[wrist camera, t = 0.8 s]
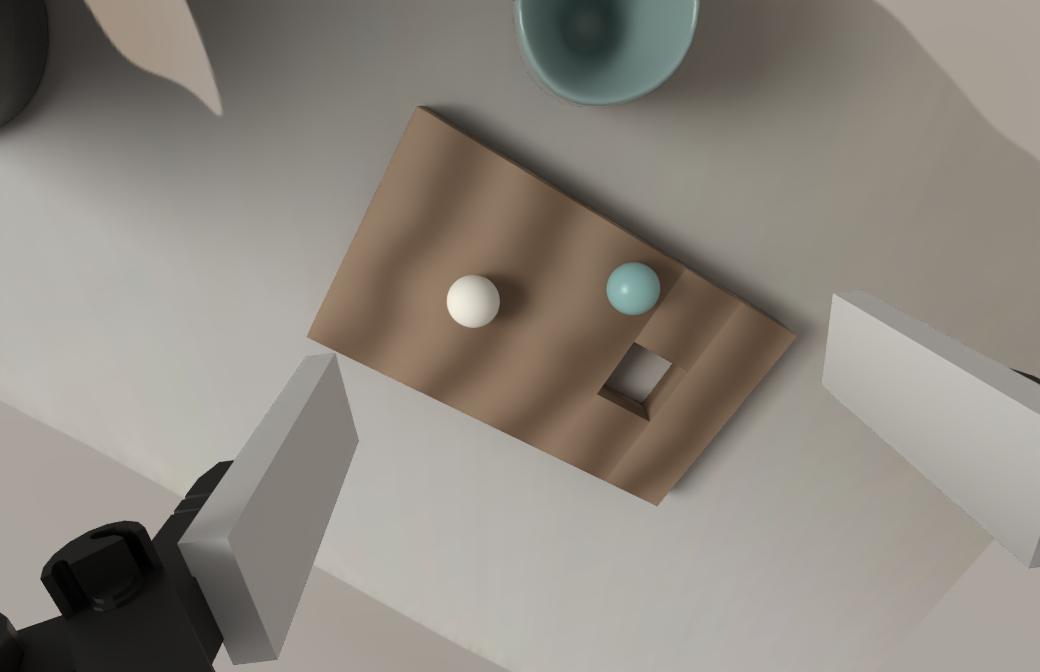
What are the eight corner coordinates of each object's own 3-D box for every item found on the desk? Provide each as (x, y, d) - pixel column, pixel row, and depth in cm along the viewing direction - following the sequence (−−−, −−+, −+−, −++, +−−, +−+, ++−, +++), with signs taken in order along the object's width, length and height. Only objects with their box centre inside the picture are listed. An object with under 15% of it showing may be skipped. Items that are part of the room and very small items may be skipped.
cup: (653, 89, 34) (711, 84, 24) (526, 119, 34) (536, 125, 25) (637, -63, 31) (694, -134, 21) (497, -28, 31) (496, -84, 22)
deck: (318, 322, 39) (306, 336, 36) (422, 105, 34) (416, 106, 31) (649, 485, 45) (657, 506, 42) (780, 322, 40) (797, 336, 37)
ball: (440, 302, 36) (434, 319, 33) (464, 259, 35) (460, 274, 32) (484, 325, 36) (482, 344, 33) (509, 284, 35) (509, 300, 32)
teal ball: (592, 290, 36) (600, 306, 33) (620, 247, 35) (631, 260, 32) (633, 313, 36) (645, 331, 33) (662, 271, 35) (677, 287, 32)
